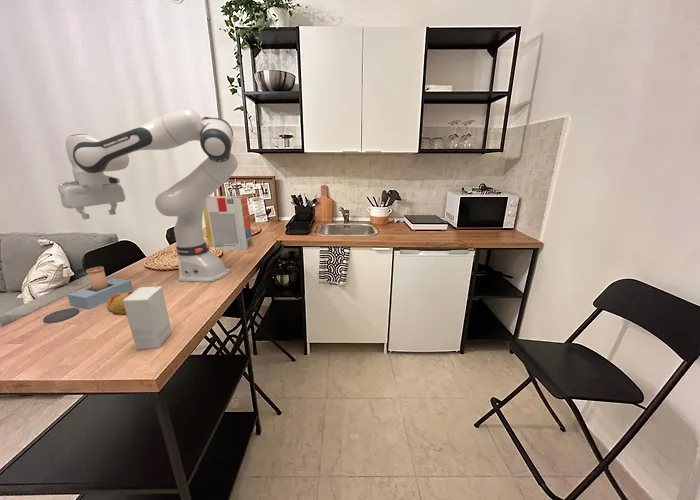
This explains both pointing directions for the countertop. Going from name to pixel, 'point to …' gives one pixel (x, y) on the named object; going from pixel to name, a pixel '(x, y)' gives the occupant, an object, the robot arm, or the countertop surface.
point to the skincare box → (148, 317)
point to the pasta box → (228, 222)
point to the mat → (61, 315)
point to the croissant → (118, 302)
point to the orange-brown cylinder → (97, 278)
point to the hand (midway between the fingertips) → (100, 216)
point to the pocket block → (99, 294)
